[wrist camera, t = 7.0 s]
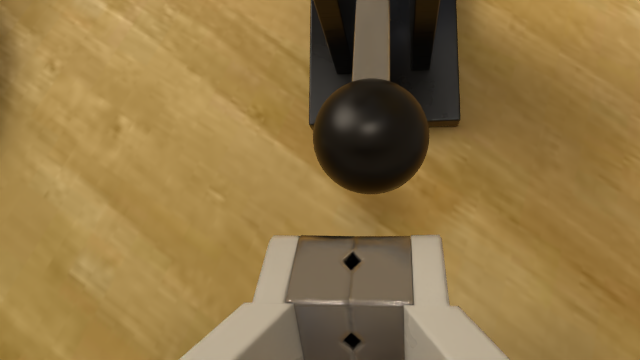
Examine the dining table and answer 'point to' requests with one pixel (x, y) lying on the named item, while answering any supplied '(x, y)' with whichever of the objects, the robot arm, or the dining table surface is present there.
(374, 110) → the lever with ball knob
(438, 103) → the black lever stand
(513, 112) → the dining table surface
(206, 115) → the dining table surface
